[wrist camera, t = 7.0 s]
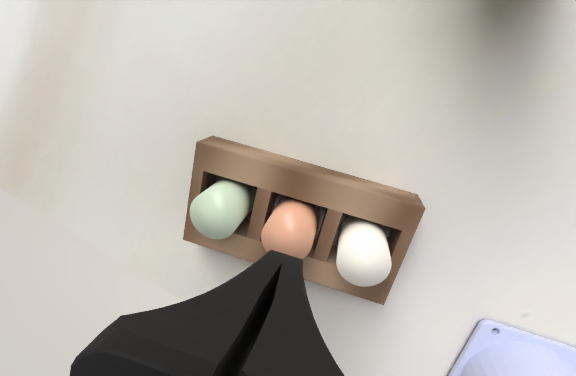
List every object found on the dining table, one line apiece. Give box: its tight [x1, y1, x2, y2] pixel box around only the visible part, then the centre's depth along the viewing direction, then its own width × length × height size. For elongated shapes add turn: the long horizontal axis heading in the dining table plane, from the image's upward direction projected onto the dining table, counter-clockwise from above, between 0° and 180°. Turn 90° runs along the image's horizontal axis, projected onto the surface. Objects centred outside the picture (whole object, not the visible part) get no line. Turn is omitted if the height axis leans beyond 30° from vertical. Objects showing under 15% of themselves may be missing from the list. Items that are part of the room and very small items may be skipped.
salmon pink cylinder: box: [261, 196, 319, 259], centre depth 20 cm, size 3×3×4 cm
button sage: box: [190, 177, 256, 239], centre depth 21 cm, size 3×3×4 cm
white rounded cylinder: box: [336, 215, 392, 287], centre depth 20 cm, size 3×3×4 cm
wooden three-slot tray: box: [183, 136, 425, 305], centre depth 21 cm, size 14×7×2 cm, turn 76°
